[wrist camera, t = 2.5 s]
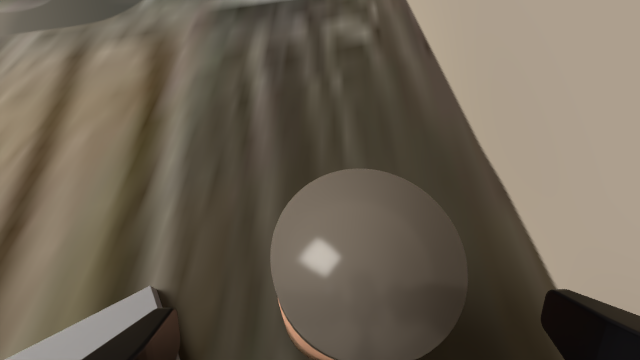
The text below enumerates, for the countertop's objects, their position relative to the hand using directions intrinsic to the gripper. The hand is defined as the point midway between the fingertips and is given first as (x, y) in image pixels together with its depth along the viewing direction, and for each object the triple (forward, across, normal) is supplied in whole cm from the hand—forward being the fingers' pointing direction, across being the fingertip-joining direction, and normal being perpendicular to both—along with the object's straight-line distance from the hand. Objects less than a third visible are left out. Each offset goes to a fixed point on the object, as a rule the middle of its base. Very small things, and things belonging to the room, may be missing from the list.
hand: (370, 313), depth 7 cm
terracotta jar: (+8, 0, +6) cm, 9 cm away
